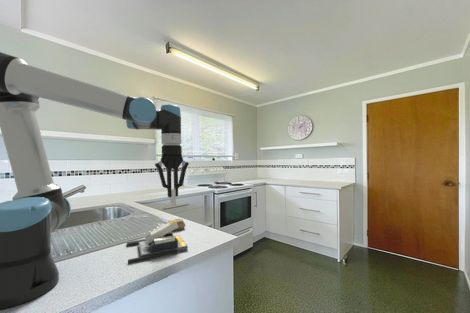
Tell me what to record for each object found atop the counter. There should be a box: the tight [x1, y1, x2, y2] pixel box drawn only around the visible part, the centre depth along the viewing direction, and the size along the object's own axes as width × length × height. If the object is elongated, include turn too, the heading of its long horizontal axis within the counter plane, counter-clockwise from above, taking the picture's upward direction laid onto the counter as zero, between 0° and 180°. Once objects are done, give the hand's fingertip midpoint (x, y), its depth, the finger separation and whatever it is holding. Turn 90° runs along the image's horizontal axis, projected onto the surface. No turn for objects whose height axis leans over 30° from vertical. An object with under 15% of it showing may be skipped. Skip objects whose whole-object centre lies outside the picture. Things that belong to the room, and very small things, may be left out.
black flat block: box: [137, 230, 189, 257], centre depth 82 cm, size 16×13×5 cm
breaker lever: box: [144, 219, 178, 244], centre depth 82 cm, size 12×3×3 cm, turn 118°
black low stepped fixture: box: [126, 238, 178, 265], centre depth 82 cm, size 18×18×1 cm
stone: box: [166, 218, 186, 232], centre depth 106 cm, size 8×10×4 cm
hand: (173, 205), depth 84 cm, fingers closed
